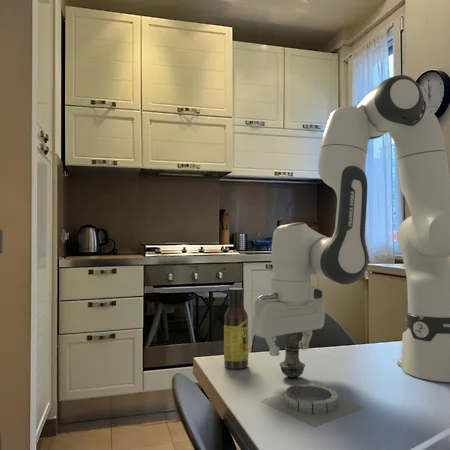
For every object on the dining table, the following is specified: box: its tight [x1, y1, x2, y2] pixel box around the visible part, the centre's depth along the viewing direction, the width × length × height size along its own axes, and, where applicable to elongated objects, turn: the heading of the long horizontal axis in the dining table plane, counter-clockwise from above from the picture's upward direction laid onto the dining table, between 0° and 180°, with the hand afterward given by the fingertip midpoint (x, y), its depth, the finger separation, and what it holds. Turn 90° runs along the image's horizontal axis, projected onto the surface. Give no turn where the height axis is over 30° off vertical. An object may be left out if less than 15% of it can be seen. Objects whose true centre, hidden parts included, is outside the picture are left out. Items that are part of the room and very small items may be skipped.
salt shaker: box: [279, 332, 306, 380], centre depth 94 cm, size 6×6×12 cm
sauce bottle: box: [223, 287, 249, 370], centre depth 105 cm, size 6×6×20 cm
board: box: [260, 392, 365, 428], centre depth 79 cm, size 14×14×1 cm
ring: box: [284, 383, 339, 415], centre depth 79 cm, size 10×10×2 cm
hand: (289, 352), depth 94 cm, fingers open, 8 cm apart
